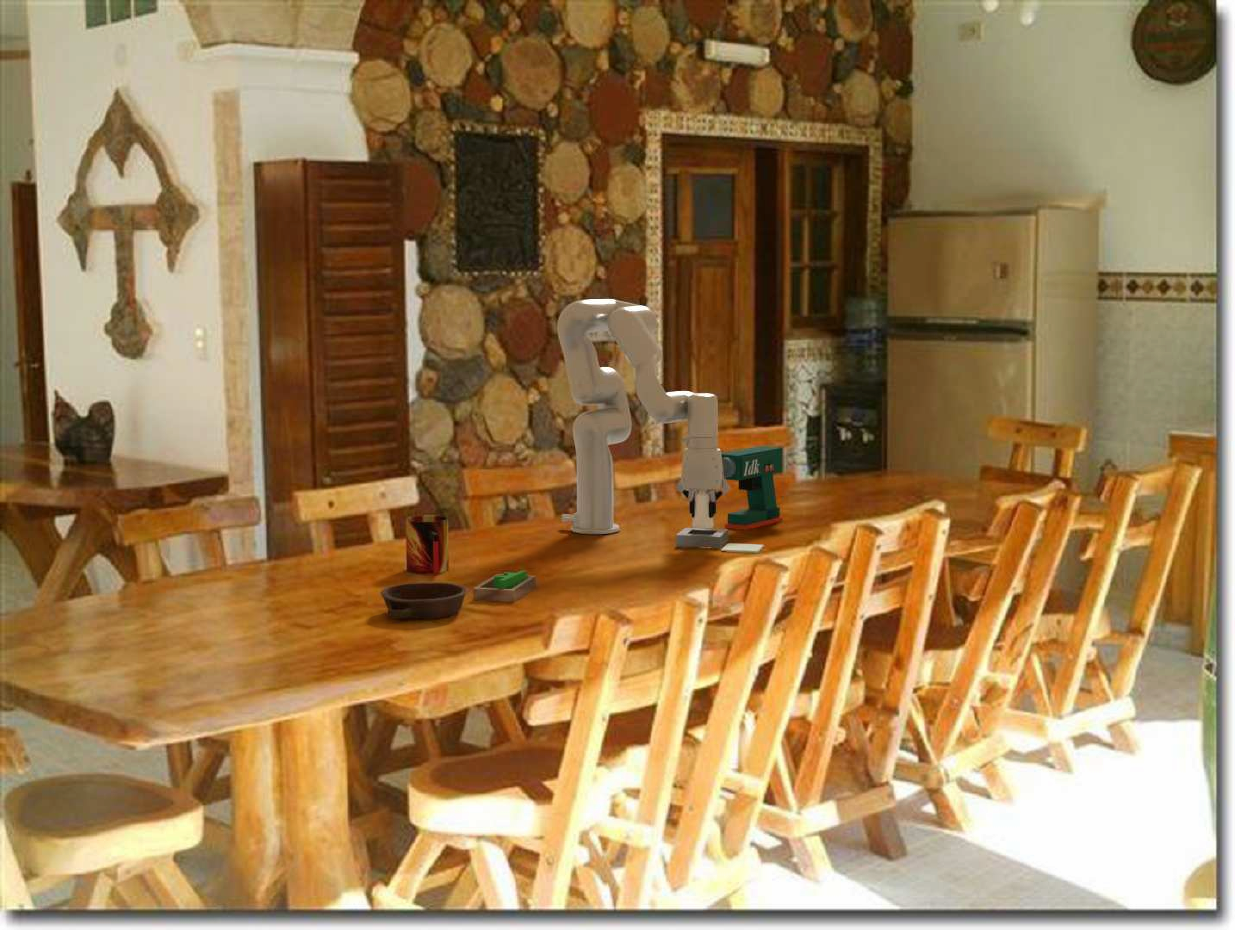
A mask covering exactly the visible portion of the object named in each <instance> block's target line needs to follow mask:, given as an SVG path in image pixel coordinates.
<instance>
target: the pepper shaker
mask: <svg viewBox="0 0 1235 930" xmlns="http://www.w3.org/2000/svg"><path fill="white" fill-rule="evenodd" d="M710 499H711V498H710V492H709V490H697V492H696V494H695V517H692V525H691V528H697V529H713V528H714V517H712V518H710V517H709V502H710Z"/></svg>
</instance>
